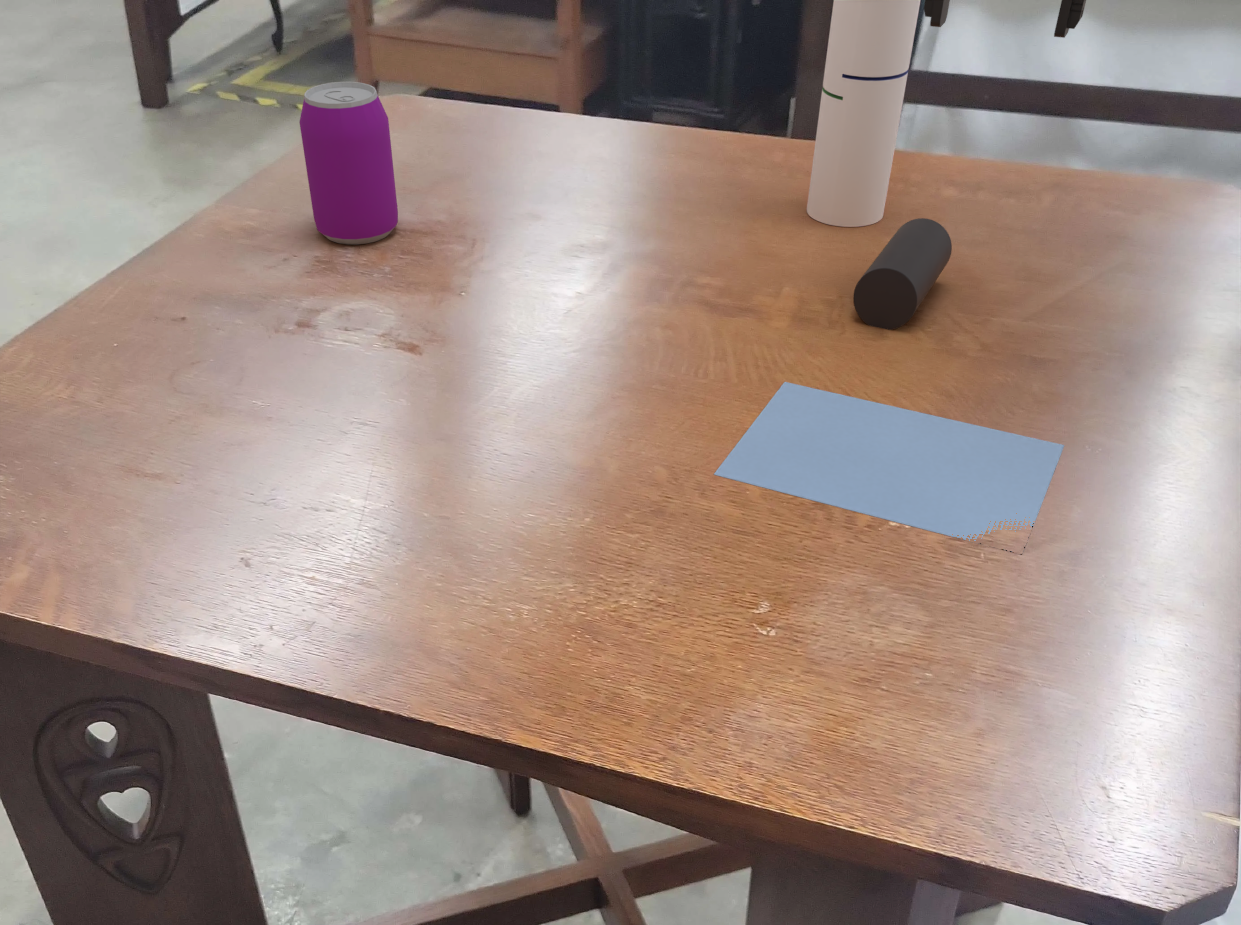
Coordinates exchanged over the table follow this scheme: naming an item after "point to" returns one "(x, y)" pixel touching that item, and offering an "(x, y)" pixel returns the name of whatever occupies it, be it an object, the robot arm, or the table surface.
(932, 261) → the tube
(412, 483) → the table surface
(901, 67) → the cylindrical container
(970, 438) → the paper
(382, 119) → the beverage can
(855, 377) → the table surface
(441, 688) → the table surface
